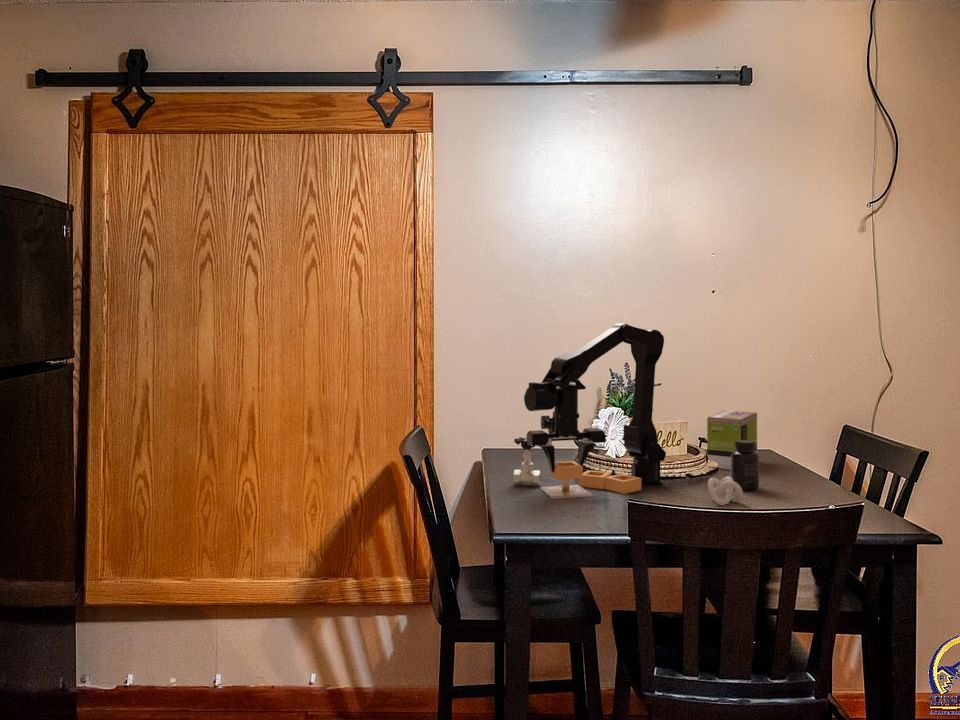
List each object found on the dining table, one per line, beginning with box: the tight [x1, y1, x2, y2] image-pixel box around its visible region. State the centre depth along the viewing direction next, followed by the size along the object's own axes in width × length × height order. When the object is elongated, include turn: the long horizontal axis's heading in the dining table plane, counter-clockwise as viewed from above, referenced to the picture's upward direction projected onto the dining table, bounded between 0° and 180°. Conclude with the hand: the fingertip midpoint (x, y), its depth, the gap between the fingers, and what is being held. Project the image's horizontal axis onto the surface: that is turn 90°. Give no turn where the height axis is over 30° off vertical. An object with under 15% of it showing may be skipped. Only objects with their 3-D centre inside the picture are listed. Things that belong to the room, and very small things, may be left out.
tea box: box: [706, 410, 758, 471], centre depth 230 cm, size 15×10×15 cm, turn 144°
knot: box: [707, 475, 744, 505], centre depth 188 cm, size 8×8×6 cm
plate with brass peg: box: [539, 479, 593, 500], centre depth 198 cm, size 10×10×6 cm
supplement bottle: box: [730, 440, 760, 492], centre depth 201 cm, size 7×7×12 cm
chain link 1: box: [578, 469, 613, 490], centre depth 206 cm, size 6×6×3 cm
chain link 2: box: [604, 473, 642, 495], centre depth 201 cm, size 6×6×3 cm
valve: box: [513, 437, 542, 487], centre depth 206 cm, size 7×7×12 cm
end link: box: [549, 460, 584, 481], centre depth 197 cm, size 6×6×3 cm
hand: (566, 471), depth 198 cm, fingers closed on end link, 6 cm apart
